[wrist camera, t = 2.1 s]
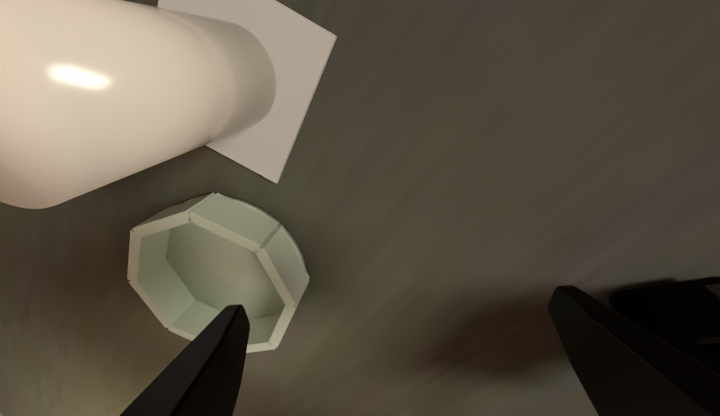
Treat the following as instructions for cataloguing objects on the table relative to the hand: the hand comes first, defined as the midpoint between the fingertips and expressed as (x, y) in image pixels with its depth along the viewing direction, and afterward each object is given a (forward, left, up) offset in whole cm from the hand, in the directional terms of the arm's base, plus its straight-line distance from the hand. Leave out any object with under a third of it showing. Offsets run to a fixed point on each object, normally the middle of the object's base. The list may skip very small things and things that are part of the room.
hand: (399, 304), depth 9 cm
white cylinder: (+9, +9, -12) cm, 17 cm away
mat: (+9, +9, -12) cm, 17 cm away
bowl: (-4, +16, -12) cm, 20 cm away
